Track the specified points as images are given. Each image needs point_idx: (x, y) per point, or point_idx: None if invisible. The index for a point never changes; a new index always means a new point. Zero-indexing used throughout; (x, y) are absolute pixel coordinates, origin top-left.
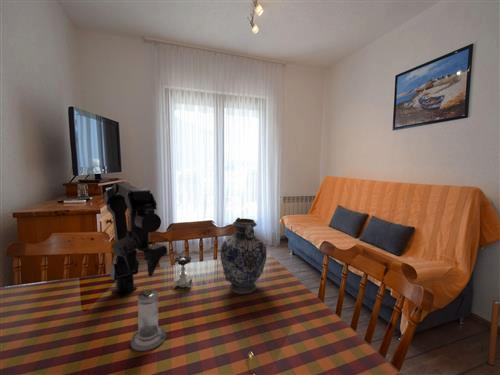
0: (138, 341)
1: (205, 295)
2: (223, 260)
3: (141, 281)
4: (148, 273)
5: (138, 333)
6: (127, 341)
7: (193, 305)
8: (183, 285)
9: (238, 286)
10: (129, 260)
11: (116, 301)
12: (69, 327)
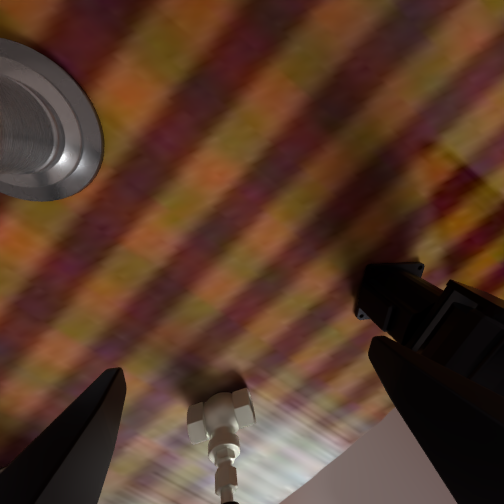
0: (3, 67)
1: None
2: None
3: None
4: (100, 394)
5: (27, 89)
6: (93, 75)
7: (87, 352)
8: (207, 403)
9: None
10: (484, 440)
11: (362, 236)
12: (395, 34)
